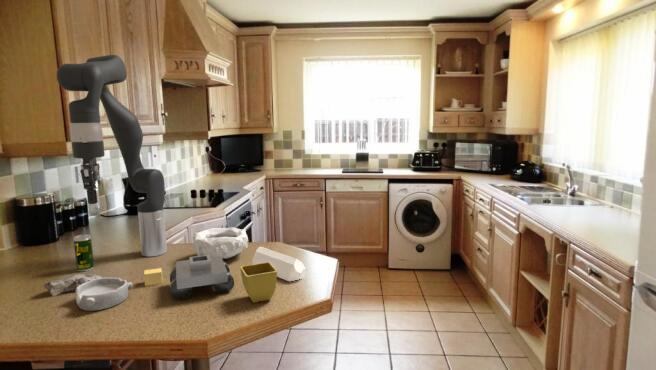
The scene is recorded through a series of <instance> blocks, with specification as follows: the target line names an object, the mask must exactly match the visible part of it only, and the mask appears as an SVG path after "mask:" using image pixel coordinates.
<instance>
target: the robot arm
mask: <svg viewBox="0 0 656 370" xmlns="http://www.w3.org/2000/svg"><path fill="white" fill-rule="evenodd" d="M127 76H128V72H127V67H126V63H125V61H124V60H123V59H122V58H121V57H120V56H118V55H116V54H107V55H101V56H96V57H95V56H94V57H90V58H87V60H86V62H83V63H63V64H62V65H60V66H59V67H58V68H57V70H56V81H57V83H58V84H59V86H60V87H61V88H62V89H64V90H66V91H68V92H87V94H86V96H85V97H83V98H81V99H75V100H72V101H70V102H69V103H68V113H69V122H70V142H71V150H72V158H74V159H82V164H81V165H80V170H79V172H80V175H81V180H82V185H83V189H84V190H85V191H86V197H87V204H88V203H89V204H96V203H97V202H98V201H97V191H96V189H97V187H96V181H98V189H99V188H100V184H101V181H100V179H101V177H100V170H101V169H100V168H101V166H100V163H98V162H97V158H104V157H105V154H106V153H105V145H104V135H103V134H104V133H103V127H102V124H101V115H100V114H101V113H100V102H101V104H102V107H103V109H104V111H105V114H106V117H107V119H108V122H109V125H110V128H111V131H112V133H113V136H114V138H115V140H116V143H117V145H118V148H119V152H120V154H121V157H122V160H123V163H124V166H125V169H126V173H127V177H128V181H129V183H130V184H129V185H130V186H131V189H132V190H133V191H135V192H137V193H140V194H141V193H142V194H146V199H145V200H144V201H142V202H139V203H138V204H137V217H138V226H139V227H138V229H139V239H140V250H141V252H140V253H141V256H142V257H143V256H144V257H156V256H157V257H158V256H162V255H165V254H166V253H167V252H168V249H167V235H166V233H167V232H166V221H165V220H166V219H165V209H164V204H165V201H166V199H165V198H166V197H165V195H166V194H165V177H164V175H163V172H162V171H161V170H159V169H156V168H145V166H144V165H143V163H142V160H141V148H142V146H143V141H144V140H143V139H144V135H143V134H144V133H143V130H142V127H141V125H140V122H139V119H138V117H137V116H136V114H135V113H133V112H132V111H131V110H130V109H129V108H127V107H126V106H125V105H124V104H123V103H121V102H120V101H119V100H118V99H116V97H115V96H114V95H113V93H112V92H111V91H110V89H109V87H108V85H113V84H121V83H124V81H126V79H127ZM98 175H99V179H98ZM94 176H95V178H93V177H94ZM88 182H91V183H92V184H88Z"/></svg>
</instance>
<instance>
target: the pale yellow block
mask: <svg viewBox="0 0 656 370" xmlns="http://www.w3.org/2000/svg"><path fill="white" fill-rule="evenodd" d="M143 272H144V274H143V278H144V287H148V286H149V287H150V286H156V285H163V272H162V267H158V268H151V269H144V271H143Z"/></svg>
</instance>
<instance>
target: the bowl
mask: <svg viewBox="0 0 656 370" xmlns="http://www.w3.org/2000/svg"><path fill="white" fill-rule="evenodd" d="M249 245H250V243H249V238H248V234H247V232H246V229H240V228H238V227H231V226H230V227H225V228H222V227H211V228H208V229H204V230H201V231H199V232H194V233H193V236H192V249H193V253H195V252H196V254H197V255H196V256H203V255H209V256H210V257H216V256H221V257H222V259H223V260H226V259H231V258H232V257H235V256H236V255H238V254H239V253H241V252H243V254H244V249H247V248H249Z"/></svg>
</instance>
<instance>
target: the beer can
mask: <svg viewBox="0 0 656 370" xmlns="http://www.w3.org/2000/svg"><path fill="white" fill-rule="evenodd" d="M73 248H74V249H73V250H74V256H75V263H76V264H75V266H76V270H77V272H79V271H80V273H84V272H83V271H85V272H89V271H92V270H94V268H95V263H94V261H95V259H94V251H93V243H92V236H91V235H90V234H88V233H87V234H79V235H75V236H74V237H73ZM88 270H89V271H88Z"/></svg>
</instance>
